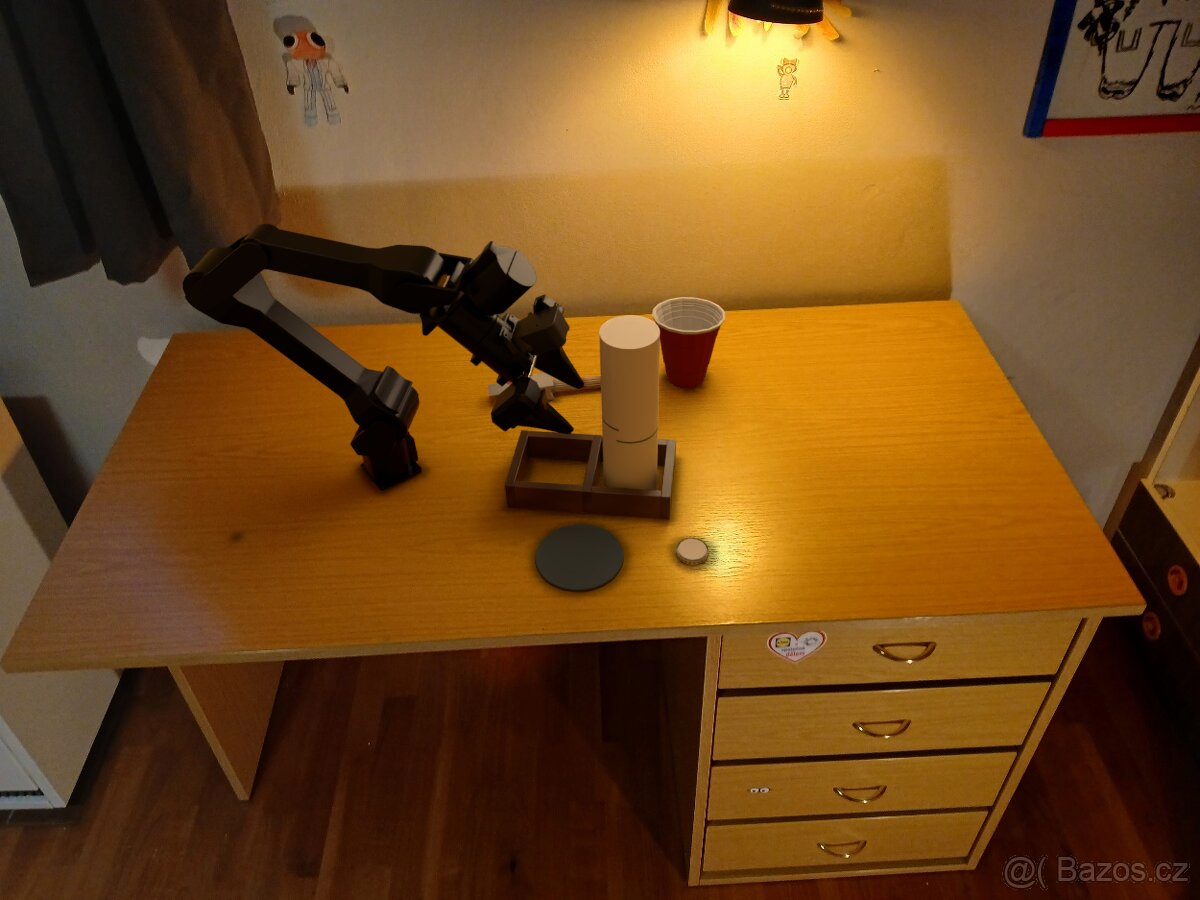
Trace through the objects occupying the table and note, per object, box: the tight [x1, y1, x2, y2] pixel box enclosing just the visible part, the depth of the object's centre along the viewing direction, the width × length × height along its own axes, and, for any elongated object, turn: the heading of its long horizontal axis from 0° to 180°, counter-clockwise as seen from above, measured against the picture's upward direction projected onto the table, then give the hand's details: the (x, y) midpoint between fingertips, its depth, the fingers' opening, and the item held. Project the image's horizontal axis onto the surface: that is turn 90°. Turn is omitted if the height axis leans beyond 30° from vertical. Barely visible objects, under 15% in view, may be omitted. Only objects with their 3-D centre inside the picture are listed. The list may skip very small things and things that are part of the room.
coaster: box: [535, 523, 625, 593], centre depth 114 cm, size 11×11×1 cm
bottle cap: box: [675, 537, 709, 566], centre depth 114 cm, size 4×4×1 cm
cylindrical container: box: [598, 314, 661, 490], centre depth 115 cm, size 7×7×25 cm
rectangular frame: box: [504, 429, 677, 520], centre depth 123 cm, size 22×11×4 cm, turn 83°
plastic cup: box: [652, 296, 726, 390], centre depth 138 cm, size 11×11×12 cm
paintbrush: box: [487, 372, 601, 401], centre depth 139 cm, size 4×3×20 cm
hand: (577, 408), depth 116 cm, fingers open, 9 cm apart
